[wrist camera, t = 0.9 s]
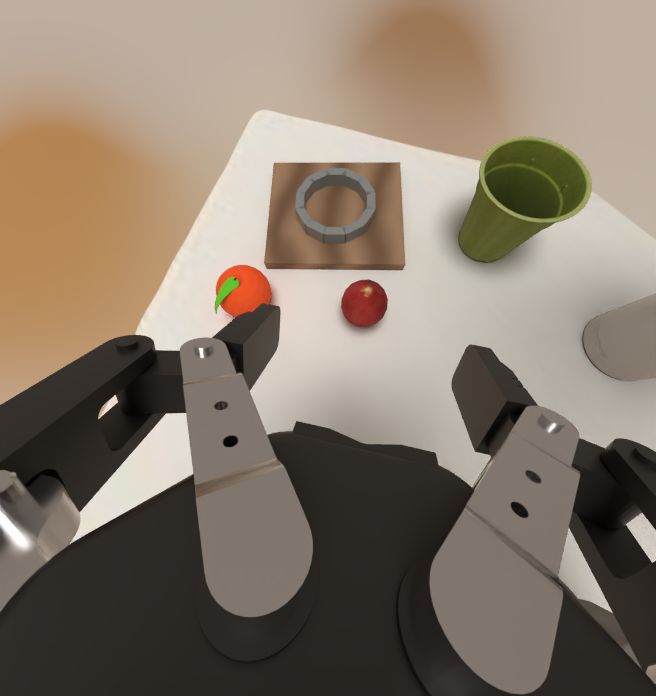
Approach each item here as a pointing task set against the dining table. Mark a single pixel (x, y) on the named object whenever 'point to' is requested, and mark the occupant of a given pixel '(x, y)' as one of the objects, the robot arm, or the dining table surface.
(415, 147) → the dining table surface
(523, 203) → the plant pot
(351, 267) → the board
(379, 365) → the dining table surface
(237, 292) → the clementine
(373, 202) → the ring
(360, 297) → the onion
